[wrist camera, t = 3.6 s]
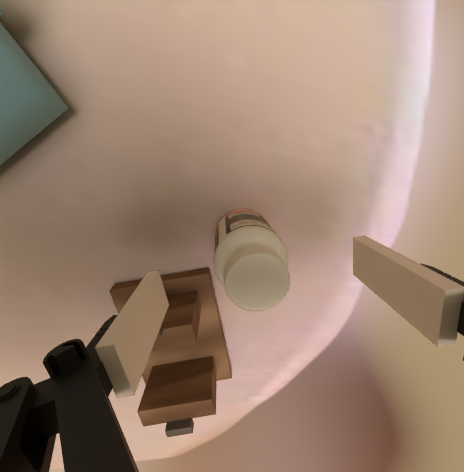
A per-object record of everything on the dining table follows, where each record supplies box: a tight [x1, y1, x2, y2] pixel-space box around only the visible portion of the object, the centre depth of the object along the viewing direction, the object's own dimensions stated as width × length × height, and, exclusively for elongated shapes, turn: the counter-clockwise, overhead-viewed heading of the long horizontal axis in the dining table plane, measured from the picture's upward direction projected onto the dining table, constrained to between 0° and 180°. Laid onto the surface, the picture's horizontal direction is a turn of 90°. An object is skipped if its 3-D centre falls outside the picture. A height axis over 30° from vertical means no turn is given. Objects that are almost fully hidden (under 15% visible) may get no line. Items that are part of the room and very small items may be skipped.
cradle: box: [110, 268, 232, 437], centre depth 23 cm, size 14×10×7 cm
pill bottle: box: [214, 209, 290, 311], centre depth 18 cm, size 5×5×10 cm
